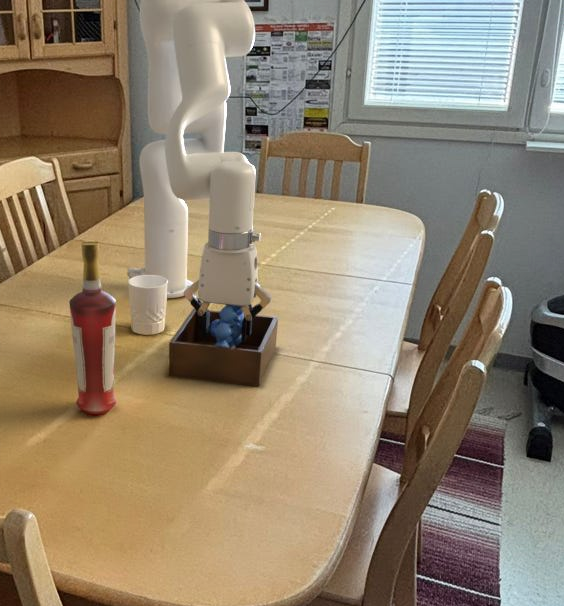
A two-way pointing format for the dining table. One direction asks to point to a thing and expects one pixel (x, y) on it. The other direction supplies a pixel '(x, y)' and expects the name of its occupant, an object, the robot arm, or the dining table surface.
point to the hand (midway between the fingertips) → (224, 335)
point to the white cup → (147, 303)
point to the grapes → (228, 326)
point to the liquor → (93, 337)
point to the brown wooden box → (222, 352)
